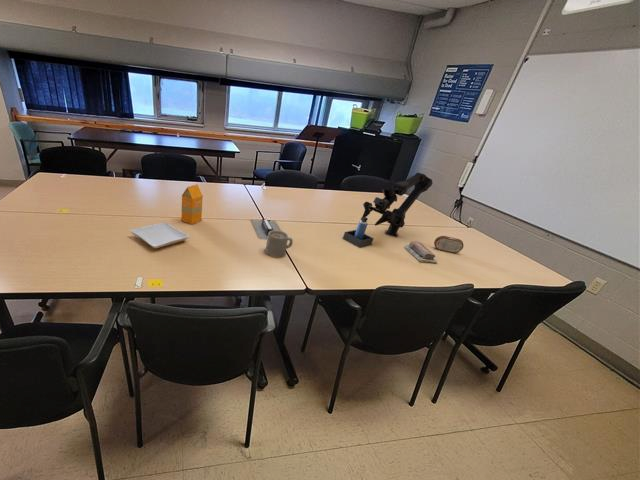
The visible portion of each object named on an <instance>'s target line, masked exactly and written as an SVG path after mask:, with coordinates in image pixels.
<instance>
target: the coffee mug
mask: <svg viewBox="0 0 640 480" xmlns="http://www.w3.org/2000/svg"><path fill="white" fill-rule="evenodd" d="M288 242H289V243H288ZM293 242H294V239H293V238H292V237H290V236H289V234H288V233H287V232H285V231H282V230H280V231H278V230H272V231H270V232H269V233H268V238H266V245H265V250H264V252H265V254H266V255H267V256H269V257H273V258H283V257H285V254H286V251H287V249H289V248H291V247H292V245H293Z"/></svg>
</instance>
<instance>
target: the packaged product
mask: <svg viewBox="0 0 640 480" xmlns="http://www.w3.org/2000/svg"><path fill="white" fill-rule="evenodd" d="M404 248H405V249H406V250H407V251H408V252H409V253H410V254H411V255H412V256H413V257H414V258H416V260H417V261H419V262H420V263H434V264H438V260H437V259H435V258H436V255H435V253H433V252H432V251H431V250H430V249H429V248H427V247H426V245H424V244H423V242H420V241H416V240H415V241H414V240H413V241H410V242H409V243H408V244H406V245H405V246H404Z"/></svg>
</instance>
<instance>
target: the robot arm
mask: <svg viewBox="0 0 640 480" xmlns="http://www.w3.org/2000/svg"><path fill="white" fill-rule="evenodd" d="M433 183H434V182H433V179H432V178H430V177H428V176H427V175H426V174H425V173H421V172H416V173H415V174H414V175H412V176H410V177H409V178H407V179H405V180H403V181H397V182H395V181H393V180H390V181H388V182H385V183H383V184H382V186H381V189H382V194H383V198H380V197H377V196H375V197H374V199H373V201H372V202H369V201H365V202H364V203H362V206H363V208H364V211H363V214H362V216H361V218H362V217H366V218H368V216H369V215H370V214H371V212H372V211H373V212H375V213H378V214H380V215H381V217H379V219H377V221H376V222H375V223H374V226H375V227H377V226H379V225H381V224H383V223H387V224H389V226H388V229H387V230H386V231H385V234H386V235H389V236H393V237H398V232H399V230H400V229H402V228H403V227H405V224H406V223H405V219H406V213H407V212H408V211H409V209H410V208H412V207H411V206H413V204H414V203H415V202H416V200H417V199H418V198H419V197H420V196H421V194H422V193H425V192H427V191H428V190H429V189H430V188H431V187H432V185H433ZM412 187H413V189H412V190H411V192H410V193H409V194H408V195H407V197H406V198H405V200H404V201H403V202H402V203H401V205H400V206H399V207H398V208H393V210H392V211H391V210H390V209H391V206H392V205H393V203H394V202H396V203H397V202H398V196H399V197H402V196H404V195H405V194H406V193H407V192H408V190H409V189H410V188H412ZM373 203H374V206H373Z"/></svg>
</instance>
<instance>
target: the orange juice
mask: <svg viewBox="0 0 640 480" xmlns="http://www.w3.org/2000/svg"><path fill="white" fill-rule="evenodd" d="M203 197H204V195H203V194H202V192H201V189H200V187H199V185H198V184H194V185H189V186H187V187H186V188H185V190H184V192H183V193H182V194H181V221H182V222H185V223H187V224H190V225H194V224H196V223H198V222H200V221H202V217H203V216H202V215H203Z"/></svg>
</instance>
